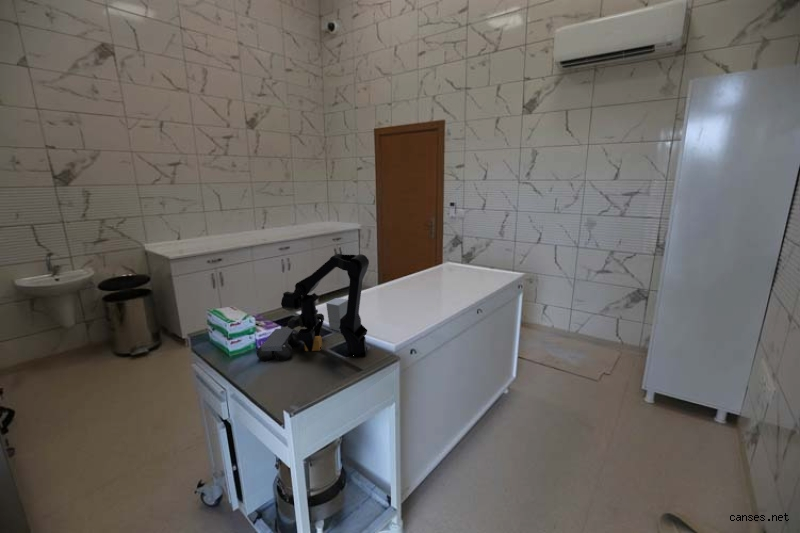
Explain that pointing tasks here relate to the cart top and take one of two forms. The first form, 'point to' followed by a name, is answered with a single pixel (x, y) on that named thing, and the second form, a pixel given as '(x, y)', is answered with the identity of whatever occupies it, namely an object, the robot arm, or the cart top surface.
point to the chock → (315, 344)
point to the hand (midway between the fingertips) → (313, 345)
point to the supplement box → (336, 312)
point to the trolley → (278, 345)
